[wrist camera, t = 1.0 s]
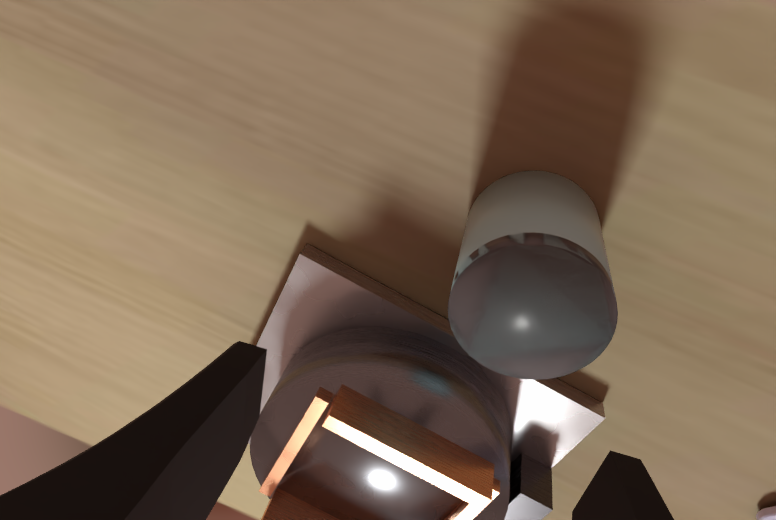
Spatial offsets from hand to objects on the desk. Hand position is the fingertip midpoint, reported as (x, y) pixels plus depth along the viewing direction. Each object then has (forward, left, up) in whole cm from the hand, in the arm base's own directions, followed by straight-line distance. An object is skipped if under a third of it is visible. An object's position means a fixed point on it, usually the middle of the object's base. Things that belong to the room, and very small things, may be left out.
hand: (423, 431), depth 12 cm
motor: (-6, +7, -10) cm, 14 cm away
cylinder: (-1, -2, -10) cm, 10 cm away
